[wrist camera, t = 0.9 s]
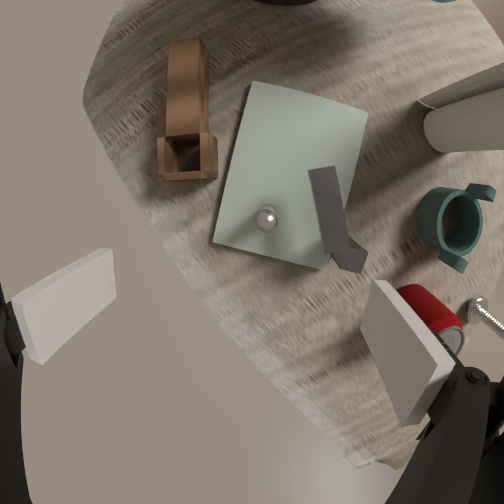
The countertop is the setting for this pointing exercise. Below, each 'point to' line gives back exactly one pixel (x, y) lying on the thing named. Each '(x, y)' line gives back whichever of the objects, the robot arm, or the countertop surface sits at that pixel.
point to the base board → (286, 170)
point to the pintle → (267, 218)
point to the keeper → (334, 220)
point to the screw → (483, 315)
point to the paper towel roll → (468, 113)
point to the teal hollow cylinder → (468, 225)
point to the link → (187, 112)
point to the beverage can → (435, 315)
